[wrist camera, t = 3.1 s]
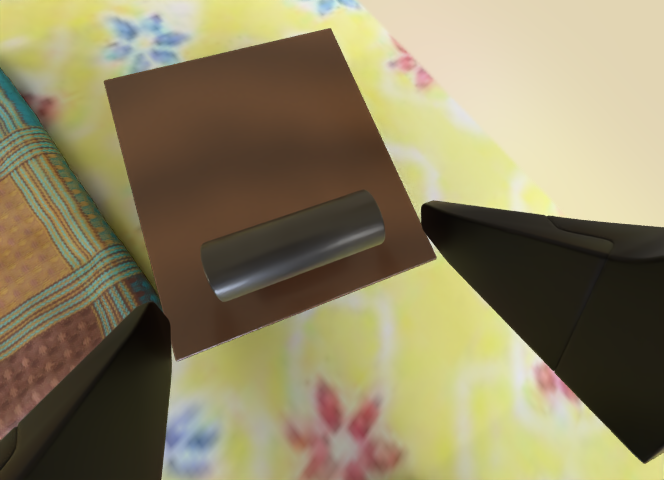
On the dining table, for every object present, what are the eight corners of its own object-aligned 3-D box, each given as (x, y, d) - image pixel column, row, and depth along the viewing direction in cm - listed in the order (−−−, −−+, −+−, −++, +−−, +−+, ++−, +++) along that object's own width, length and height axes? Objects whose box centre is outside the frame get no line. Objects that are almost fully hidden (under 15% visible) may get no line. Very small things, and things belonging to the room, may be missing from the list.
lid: (430, 261, 13) (510, 232, 8) (184, 358, 11) (78, 404, 6) (329, 40, 16) (340, -92, 10) (113, 92, 14) (-5, -37, 9)
